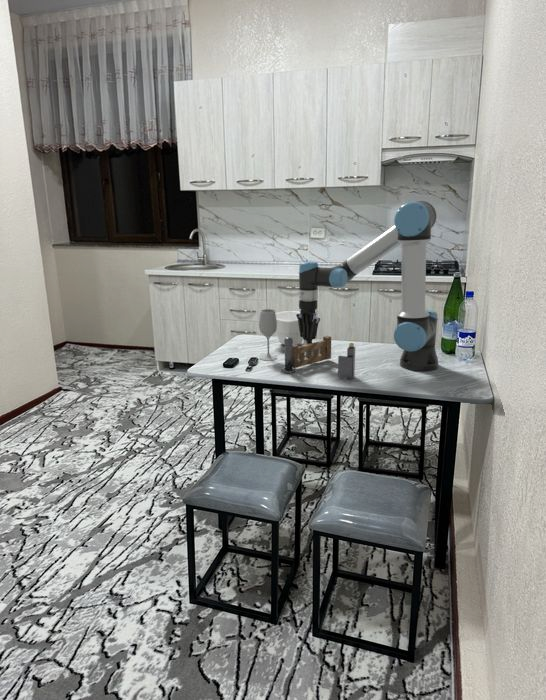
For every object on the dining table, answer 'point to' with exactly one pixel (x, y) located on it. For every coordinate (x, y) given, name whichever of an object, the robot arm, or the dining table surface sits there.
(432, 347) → the robot arm
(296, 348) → the gate
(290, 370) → the hinge post
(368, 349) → the dining table surface
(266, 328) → the wineglass
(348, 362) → the stile post
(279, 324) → the bowl
